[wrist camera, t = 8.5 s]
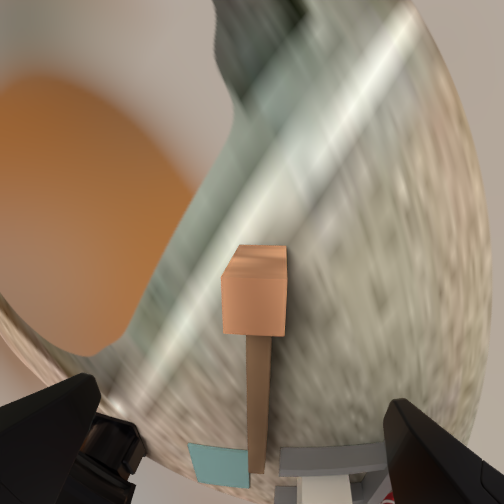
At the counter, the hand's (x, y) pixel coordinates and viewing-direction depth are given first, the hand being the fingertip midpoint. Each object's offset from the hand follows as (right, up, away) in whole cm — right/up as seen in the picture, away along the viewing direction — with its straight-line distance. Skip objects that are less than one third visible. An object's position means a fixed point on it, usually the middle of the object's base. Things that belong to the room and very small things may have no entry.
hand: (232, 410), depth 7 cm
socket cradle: (+10, -21, +18) cm, 29 cm away
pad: (-3, -20, +20) cm, 28 cm away
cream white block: (+8, -21, +18) cm, 29 cm away
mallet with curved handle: (+1, -6, +15) cm, 16 cm away
